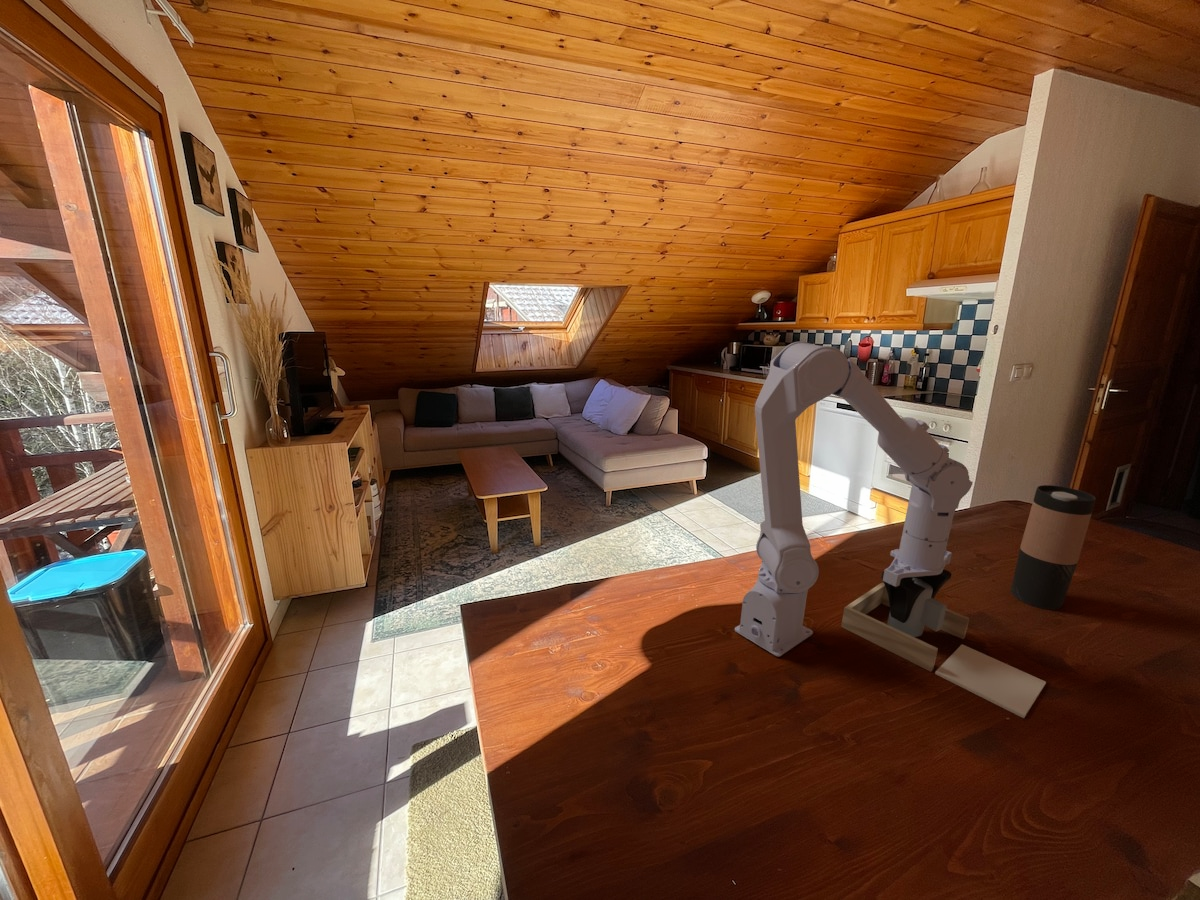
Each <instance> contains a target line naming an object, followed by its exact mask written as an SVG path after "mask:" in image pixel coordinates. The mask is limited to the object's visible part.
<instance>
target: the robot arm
mask: <svg viewBox="0 0 1200 900" xmlns="http://www.w3.org/2000/svg"><path fill="white" fill-rule="evenodd" d="M769 363H770V364H769V371H768V373H767V377H766V378H765V381H764V382H763V385H762V388H761V390H760V392H759V394H758V396H757V399H756V401H755V404H754V414H755V426H756V435H757V436H756V438H757V446H758V449H757V450H758V459H759V471H760V480H761V481H760V482H761V483H760V484H761V491H762V492H761V494H762V504H763V513H764V520H763V521H762V522H760V533H759V537H758V540H757V541H756V545H755V547H756V548H755V549H756V554H757V556H758V557H759V559H761V565H760V567H759V571H758V576H757V579H756V583H755V584H754V585H753V587H752V588H751V589H750V590H749V591H748V592H746V593H745V595H744V596H743V598H742V604H741V605H742V606H741V615H740V623H739V625H737V626H735V627H734V632H735V633H737V634H739V635H741V636H742V637H744V638H745V639H747V640H748V641H751V642H753V643H754V644H756V645H757V646H759V647H760V648H762V649H764V650H766V651H767V652H769V653H770V654H772V655H773V656H775V657H778V658H779V657H781V656H783V655H784V654H786V653H787V652H788V651H790V650H792V649H794V647H796V646H797V645H799V644H800V643H802V642H803V641H805V640H806V639H808V638H810V637H811V636H812V635H813V634H814V631H813V630H812V629H810V628H809V627H807V626H805V625H803V623H804V617H805V612H806V611H805V609H806V605H807V604H806V603H807V597H808V591H809V589H810V588H812V587H813V585H815V583H816V582H817V580H818V578H819V574H820V573H819V572H820V569H819V565H818V563H817V561H816V560H815V559H814V557H813V555H812V552H811V551H812V550H811V543H810V541H809V538H808V536H807V533H806V531H805V530H806V529H805V527H804V525H803V510H802V498H801V497H802V496H801V482H800V481H801V480H800V469H799V467H800V466H799V456H798V453H799V452H798V441H797V426H796V420H797V419H798V418H799V417H800V416H801V414H803V412H805V411H806V410H807V409H808V408H809V407H811V406H812V405H815V404H816V403H818V402H820V401H822V400H824V399H826V398H827V397H830V396H831V395H833V396H836V397H839V398H842V399H843V400H844V401H845V402H847V404H849V405H850V406H851V407H852V409H854V410H855V411H856V412H857V413H858V414H859V415H860V416H861V417H862V418H863V419H864V420H865V421H867V422H868V423H869V425H871V426H872V428H874V429H875V430H876V431H877V432H878V435H877V445H878V446H879V448H880V449H881V450H882V451H883V452H884V453H886V455H887V456H888V457H889V458H890V459H891V460H892V461H893V462H894V463H895V464H896V465H897V466H898V467H899V468H900V469H901V470H902V472H903V473H904V478H905V480H906V482H909V483H911V484H912V485H911V487H910V488H911V489H910V493H909V498H908V503H907V504H908V505H907V507H906V509H907V510H906V514H905V519H904V523H903V524H904V525H903V529H902V535H901V538H900V543H899V548H896V549H895V548H894V549H893V550H890V553H889V554H890V556H891V557H893V558H894V559H893V561H891V563H890V565H889V566H888V567H887V568H884V570H883V571H882V572H881V576H880V578H881V580H882V582H883V583H884V584H885V587H886V590H887V593H888V598H889V605H890V607H889V613H890V614H891V617H893V618H894V619H896V620H898V621H900V622H902V623H905V622H906V621H907V620H908V618H909V616H910V613H911V611H912V608H913V605H914V603H915V601H916V599H917V598H918V596H919V595H920V594H921V593H922V592H923V591H924V590H925V589H926V588H924V587H922V586H920V585H918V584H916V583H914V580H912V579H913V578H917V579H920V580H922V581H924V582H926V583H928V584H929V585H931V586H932V588H933V592H932V596H931V598H933V599H935V597H936V595H937V593H938V592H939V591H940V589H942V587H943V586H944V584H945V583H947V582H948V581H949V580H950V579H951V577H952V572H951V571H949V570H947V569H945V566H948V565H950V563H951V558H952V554H953V552H951V551H948V550H947V546H948V542H949V537H950V533H951V529H952V524H953V520H954V515H955V512H956V510H957V509H958V508H959V505H960V501H961V500H962V499H963V498H964V497H965V496H966V495H967V494H968V493H969V491H970V490H971V488H972V486H973V483H974V482H973V481H972V480H970V475H969V474H970V473H969V470H968V468H967V467H966V466H965V464H963V463H962V462H960V461H957V460H955V459H953V458H951V457H950V455H949V454H948V453H949V451H950V449H949V448H948V447H947V446H946V445H944V444H940V443H938V442H937V441H936V439H934V437H933V436H932V435H931V434H930V433H929V432H928V430H929V429H930V426H929V424H927V423H926V422H925V421H923V420H921V419H916V418H913V417H908V416H907V417H901V416H900V415H899V414H898V413H897V412H896V411H895V409H894V408H893V407H892V405H890V404H889V402H888V401H887V400H886V399H885V398H884V396H883V395H882V394H881V393H880V392H879V390H878V389H877V388H876V386H874V384H873V383H872V382H871V381H870V379H868V378H867V377H866V375H865V374H864V372H863V371H862V370H861V369H860V367H859V365H857V364H856V363H855V362H854V361H852V360H851V359H848V358H847V356H846V354H845V353H844V352H843V351H841V350H840V349H839V348H838V347H834V346H829V345H818V344H812V343H811V342H807V341H799V340H798V341H794V342H792V343H790V344H788V345H786V346H785V347H784V348H783V349H781V351H780V352H779V353H778V354H776V356H775V357H774V358H772V359H771V360H770V362H769Z"/></svg>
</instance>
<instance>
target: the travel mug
mask: <svg viewBox="0 0 1200 900" xmlns="http://www.w3.org/2000/svg"><path fill="white" fill-rule="evenodd" d="M1096 499H1097V498H1096V497H1095V495H1092V494H1090V493H1088V492H1085V491H1083V490H1079V489H1075V488H1071V487H1065V486H1060V485H1050V484H1046V485H1045V484H1043V485H1039V486H1037V488H1036V491H1035V494H1034V497H1033V500H1032V504H1031V507H1030V512H1029V516H1028V518H1027V523H1026V526H1025V530H1024V532H1023V535H1022V539H1021V544H1020V547H1019V551H1018V556H1017V560H1016V564H1015V565H1016V566H1015V569H1014V573H1013V578H1012V583H1011V588H1010V593H1011V595H1012V596H1013V597H1014V598H1016V599H1017V600H1019V601H1020V602H1023V604H1027V605H1029V606H1032V605H1033V606H1032V607H1035V608H1040V609H1043V610H1051V611H1054V610H1059V609H1061V608H1062V607H1063V604H1064V602H1065V599H1066V596H1067V593H1068V591H1069V588H1070V585H1071V582H1072V579H1073V578H1074V577H1073V576H1074V574H1075V570H1076V568H1077V566H1078V565H1077V564H1078V562H1079V560H1080V555H1081V552H1082V549H1083V546H1084V541H1085V538H1086V535H1087V531H1088V528H1089V525H1090V521H1091V517H1092V514H1093V511H1094V508H1095V507H1094V506H1095V504H1096Z"/></svg>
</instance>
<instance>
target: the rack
mask: <svg viewBox="0 0 1200 900" xmlns="http://www.w3.org/2000/svg"><path fill="white" fill-rule="evenodd" d="M881 604H882V605H884V606H886V607H889V608H890V605H889V598H888V593H887V590H886V587H885V584H884V582H883V581H882V582H880V583H879V584H877V585H876V586H875V587H873V588H871V589H870V590H869V591H867V592H865V593H864V594H862V595H861V596H858V598H856V599H855V600H853V601H852V602H850V603H848V605H846V606H844V607H843V608H844V609H843V614H842V619H841V620H842V621H841V628H843V629H845V630H847V631H849V632H850V633H853V634H855V635H857V636H859V637H861V638H862V639H865V640H867V641H869V642H871V643H873V644H875V645H876V646H879V647H880V648H883V649H885V650H887V651H889V652H890V653H893V654H895V655H897V656H898V657H901V658H903V659H905V660H907V661H909V662H911V663H912V664H914V665H917V666H919V667H920V668H922V669H925V670H926V671H929V672H933V671H934V668H935V663H936V659H937V655H938V652H939V651H938V650H939V648H938V647H936V646H934V645H931V644H930V643H928V642H925V641H923V640H921V639H919V638H918V637H913V636H911V635H908V634H906V633H904V632H902V631H900V630H898V629H895V628H893V627H891V626H889V625H888V623H885V622H883V621H880V620H878V619H876V618H874V617H872V616H870V615H868V614H869V613H870V612H872V611H873V610H874V609H876V608H877V607H878V606H881ZM969 623H970V617H968V616H966V615H963V614H962V613H960V612H957V611H954V610H951V609H950V608H946V612H945V616H944V620H943V624H942V628H941V631H943V632H946V633H947V634H951V635H952V636H955V637H957V638H959V639H962V640H964V639H965V638H966V635H967V630H968V626H969Z"/></svg>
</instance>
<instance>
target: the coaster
mask: <svg viewBox="0 0 1200 900" xmlns="http://www.w3.org/2000/svg"><path fill="white" fill-rule="evenodd" d="M934 675H937V676H938V677H940V678H943V679H944V680H947V681H948V682H950V683H953V684H954V685H956V686H959V687H960V688H962V689H964V690H967V691H969V692H971V693H972V694H975V695H976V696H978V697H981V698H982V699H985V700H986V701H988V702H991V703H992V704H994V705H996V706H999V707H1000V708H1001V709H1002V708H1003V709H1004V710H1006V711H1008V712H1010V713H1013V714H1014V715H1016V716H1018V717H1020V718H1022V719H1025V717H1026V716H1027V715H1028V713H1029V711H1030V709H1031V708H1032V706H1033V705H1034V703H1035V701H1036V700H1037V698H1038V697H1039V696H1040V694H1041V692H1042V691H1043V690H1044V687H1045V686H1046V684H1047V681H1045V680H1043V679H1040V678H1038V677H1036V676H1034V675H1032V674H1029V673H1027V672H1025V671H1023V670H1020V669H1019V668H1016V667H1014V666H1011V665H1010V664H1007V663H1005V662H1002V661H1000V660H999V659H996V658H994V657H991V656H989V655H987V654H985V653H983V652H980V651H978V650H976V649H973V648H971V647H969V646H967V645H964V644H960V646H958V648H957V649H956V650H955V651H954V652H953V653H952V654H951V655H950V656H949V657H948V658H947V659H946V660H945V661H944V662H943V663H942V664H941V665H940V666H939V667H938V668H937V669H936V670H935V672H934Z"/></svg>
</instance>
